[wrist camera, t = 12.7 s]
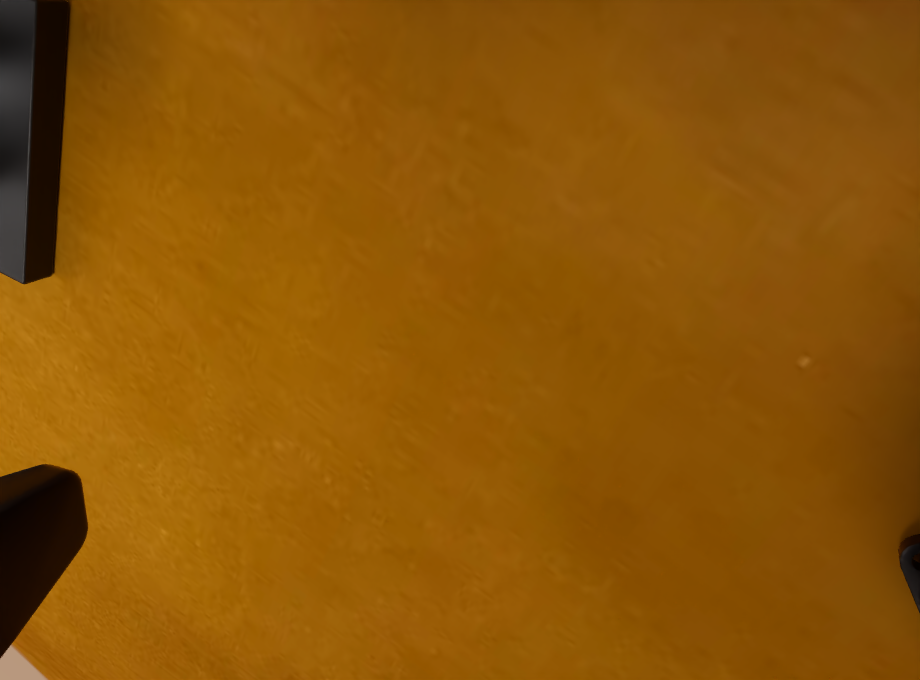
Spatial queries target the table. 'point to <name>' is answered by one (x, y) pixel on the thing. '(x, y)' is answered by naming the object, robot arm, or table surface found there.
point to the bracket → (30, 133)
